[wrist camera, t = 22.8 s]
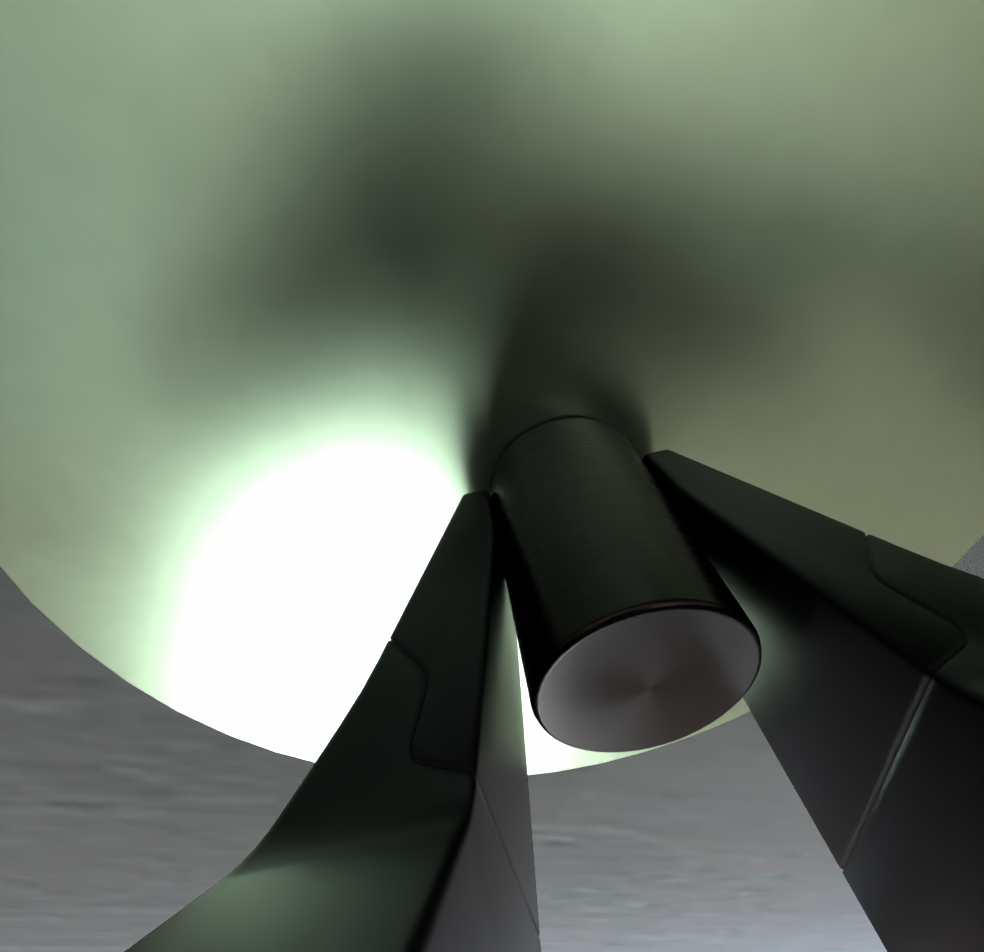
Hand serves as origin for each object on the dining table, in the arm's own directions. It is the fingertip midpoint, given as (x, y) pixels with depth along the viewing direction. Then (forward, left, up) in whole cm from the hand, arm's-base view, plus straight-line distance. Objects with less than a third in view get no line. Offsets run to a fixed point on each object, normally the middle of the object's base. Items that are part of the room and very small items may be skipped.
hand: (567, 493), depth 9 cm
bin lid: (0, 0, -1) cm, 1 cm away
